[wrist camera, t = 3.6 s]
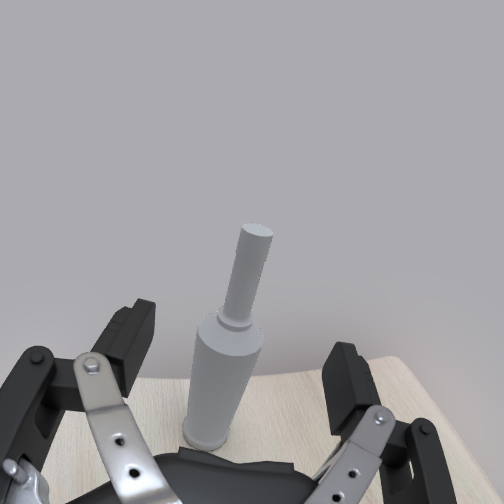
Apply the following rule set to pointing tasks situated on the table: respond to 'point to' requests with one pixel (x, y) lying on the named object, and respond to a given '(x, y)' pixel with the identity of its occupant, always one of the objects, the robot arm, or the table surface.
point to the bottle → (227, 347)
